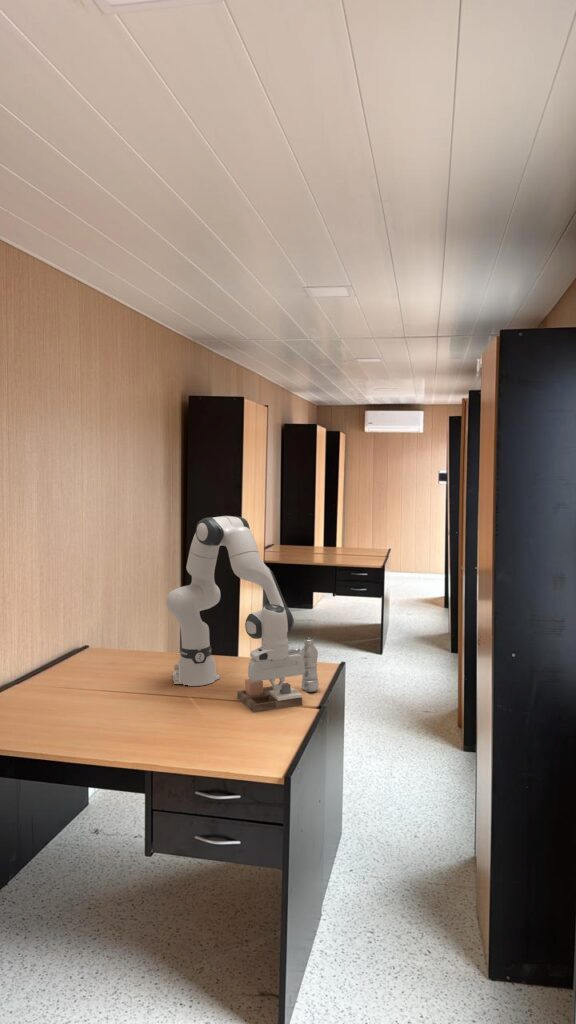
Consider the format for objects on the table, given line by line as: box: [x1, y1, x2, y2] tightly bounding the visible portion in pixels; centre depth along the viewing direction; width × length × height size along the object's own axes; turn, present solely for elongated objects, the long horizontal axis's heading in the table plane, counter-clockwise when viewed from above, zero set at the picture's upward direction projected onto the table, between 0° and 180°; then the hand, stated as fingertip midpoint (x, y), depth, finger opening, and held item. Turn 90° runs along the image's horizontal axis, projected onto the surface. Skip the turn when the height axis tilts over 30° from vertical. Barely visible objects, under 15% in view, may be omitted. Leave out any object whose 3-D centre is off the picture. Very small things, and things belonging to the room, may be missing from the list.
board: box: [236, 685, 303, 713], centre depth 267 cm, size 18×18×4 cm
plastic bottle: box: [301, 637, 320, 693], centre depth 280 cm, size 6×7×20 cm
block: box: [244, 678, 264, 696], centre depth 270 cm, size 5×5×7 cm
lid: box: [269, 682, 303, 701], centre depth 264 cm, size 9×9×4 cm
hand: (277, 690), depth 263 cm, fingers closed
